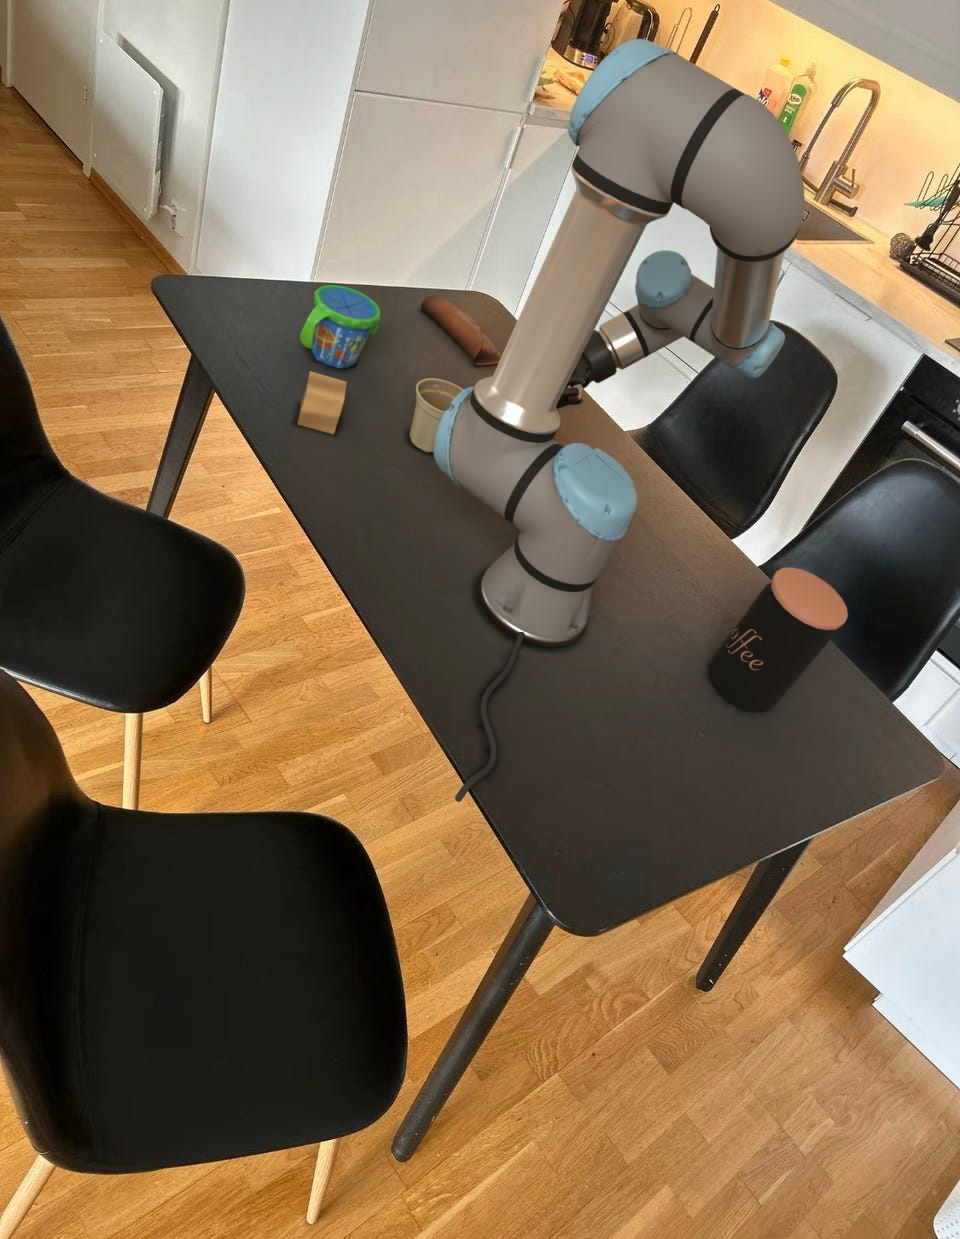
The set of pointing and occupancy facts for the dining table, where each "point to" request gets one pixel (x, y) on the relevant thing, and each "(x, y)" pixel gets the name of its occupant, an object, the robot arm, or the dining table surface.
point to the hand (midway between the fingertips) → (472, 425)
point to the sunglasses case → (462, 330)
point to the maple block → (322, 403)
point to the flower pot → (430, 410)
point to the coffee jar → (776, 640)
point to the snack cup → (339, 325)
